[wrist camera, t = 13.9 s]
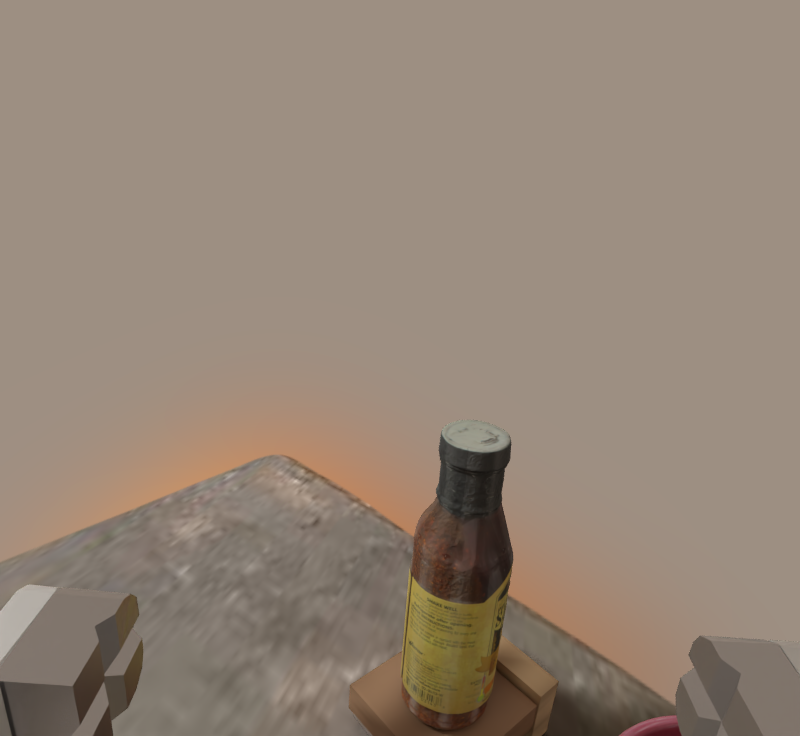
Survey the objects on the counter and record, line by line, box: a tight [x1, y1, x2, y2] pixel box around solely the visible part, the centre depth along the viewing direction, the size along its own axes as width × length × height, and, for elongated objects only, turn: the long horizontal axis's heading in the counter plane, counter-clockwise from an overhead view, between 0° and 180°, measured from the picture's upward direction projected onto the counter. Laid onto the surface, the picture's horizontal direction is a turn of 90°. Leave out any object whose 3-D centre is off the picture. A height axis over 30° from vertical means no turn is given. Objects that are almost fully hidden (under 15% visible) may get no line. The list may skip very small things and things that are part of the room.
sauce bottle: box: [400, 420, 513, 730], centre depth 39 cm, size 7×6×20 cm
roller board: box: [349, 636, 559, 736], centre depth 44 cm, size 9×11×5 cm
